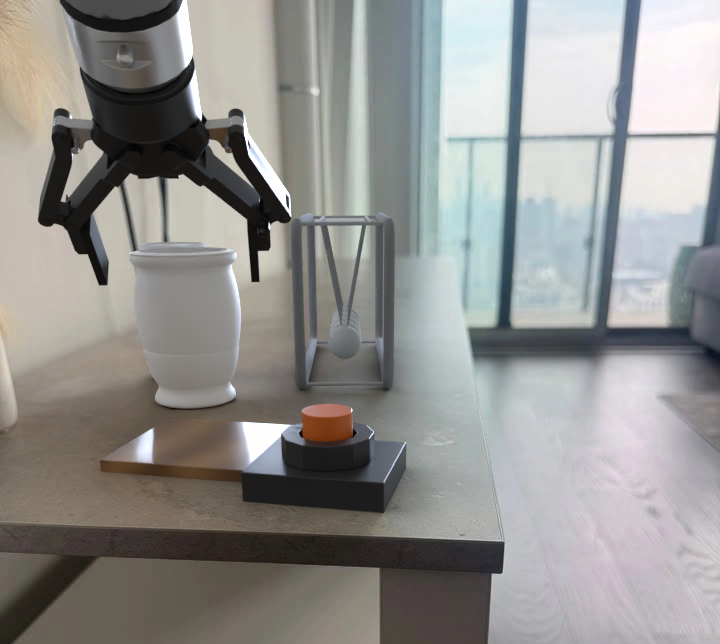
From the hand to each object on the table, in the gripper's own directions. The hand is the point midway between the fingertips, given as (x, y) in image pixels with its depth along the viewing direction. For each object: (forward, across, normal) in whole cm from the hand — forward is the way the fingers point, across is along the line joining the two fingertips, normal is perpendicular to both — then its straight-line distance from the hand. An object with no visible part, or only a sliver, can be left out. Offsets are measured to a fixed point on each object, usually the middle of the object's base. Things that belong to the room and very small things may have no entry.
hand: (180, 272), depth 69 cm
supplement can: (+21, -2, +2) cm, 22 cm away
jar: (+13, 0, -6) cm, 15 cm away
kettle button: (-8, +12, -22) cm, 26 cm away
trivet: (+1, +2, -18) cm, 18 cm away
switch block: (-6, +12, -24) cm, 28 cm away
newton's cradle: (+24, +17, +5) cm, 30 cm away
